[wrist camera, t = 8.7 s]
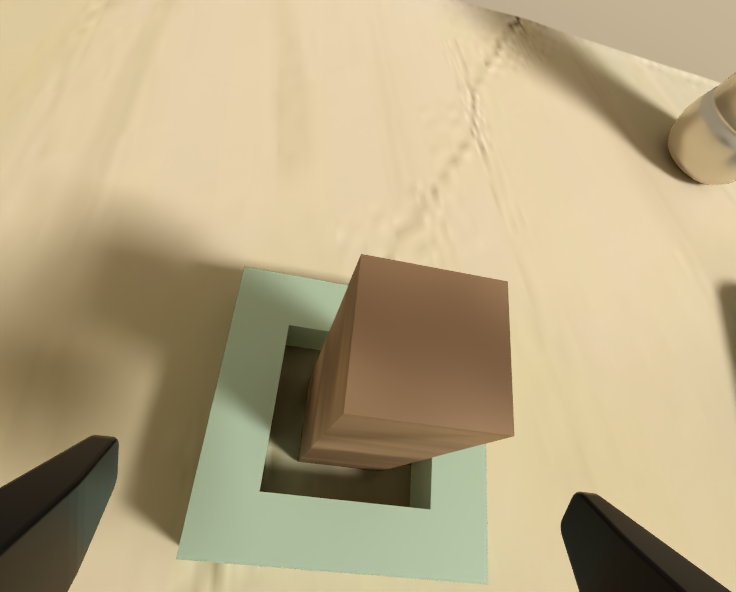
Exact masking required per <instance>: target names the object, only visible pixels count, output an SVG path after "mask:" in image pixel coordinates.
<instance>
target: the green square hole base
mask: <svg viewBox="0 0 736 592" xmlns="http://www.w3.org/2000/svg"><path fill="white" fill-rule="evenodd" d="M347 287H348V285H344V284H338V283H333V282H327V281H322V280H316V279H310V278H305V277H299V276H294V275H288V274H282V273H277V272H271V271H266V270H260V269H254V268H249V267H244V270H243V275H242V279H241V283H240V288H239V292H238V296H237V300H236V305H235V309H234V313H233V317H232V322H231V326H230V330H229V335H228V339H227V343H226V347H225V352H224V356H223V360H222V364H221V369H220V373H219V377H218V382H217V386H216V390H215V394H214V399H213V403H212V407H211V411H210V416H209V420H208V424H207V429H206V433H205V437H204V441H203V446H202V450H201V454H200V458H199V463H198V467H197V471H196V476H195V480H194V484H193V488H192V493H191V497H190V501H189V505H188V510H187V514H186V518H185V523H184V527H183V531H182V535H181V540H180V544H179V548H178V552H177V557H176V559H179V560H192V561H204V562H216V563H228V564H241V565H253V566H265V567H278V568H290V569H302V570H314V571H327V572H339V573H351V574H363V575H376V576H388V577H400V578H413V579H425V580H437V581H449V582H462V583H474V584H486V585H488V545H487V478H486V444H482V445H478V446H474V447H470V448H467V449H463V450H459V451H455V452H451V453H448V454H444V455H440V456H436V457H432V458H428V459H425V460H421V461H417V462H413V463H412V467H411V487H410V507H402V506H392V505H383V504H373V503H364V502H354V501H345V500H336V499H326V498H317V497H307V496H298V495H288V494H279V493H269V492H260V486H261V481H262V475H263V469H264V464H265V458H266V452H267V447H268V441H269V435H270V430H271V424H272V418H273V413H274V407H275V401H276V396H277V390H278V385H279V379H280V373H281V368H282V362H283V356H284V351H285V345H289V346H295V347H302V348H308V349H315V350H322V348H323V345H324V343H325V340H326V338H327V336H328V333H329V331H330V328H331V326H332V324H333V321H334V319H335V316H336V314H337V311H338V309H339V307H340V304H341V302H342V299H343V297H344V295H345V292H346V290H347Z"/></svg>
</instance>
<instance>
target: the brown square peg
mask: <svg viewBox="0 0 736 592" xmlns="http://www.w3.org/2000/svg"><path fill="white" fill-rule="evenodd" d="M512 436H514V418H513V395H512V372H511V348H510V325H509V302H508V282H507V281H502V280H497V279H491V278H486V277H481V276H475V275H470V274H465V273H459V272H454V271H449V270H443V269H438V268H433V267H427V266H422V265H417V264H411V263H406V262H401V261H395V260H390V259H385V258H379V257H374V256H369V255H363V254H361V256H360V258H359V261H358V263H357V266H356V268H355V270H354V273H353V275H352V278H351V280H350V283H349V285H348V287H347V290H346V292H345V295H344V297H343V299H342V302H341V304H340V307H339V309H338V311H337V314H336V316H335V319H334V321H333V324H332V326H331V328H330V331H329V333H328V336H327V338H326V340H325V343H324V345H323V348H322V350H321V352H320V355H319V357H318V360H317V362H316V365H315V367H314V369H313V372H312V374H311V377H310V381H309V388H308V395H307V402H306V409H305V415H304V422H303V429H302V436H301V443H300V450H299V457H298V462H306V463H315V464H324V465H333V466H341V467H350V468H359V469H368V470H376V471H383V470H387V469H390V468H394V467H398V466H402V465H406V464H409V463H413V462H417V461H421V460H425V459H428V458H432V457H436V456H440V455H444V454H448V453H451V452H455V451H459V450H463V449H467V448H470V447H474V446H478V445H482V444H486V443H489V442H493V441H497V440H501V439H505V438H508V437H512Z"/></svg>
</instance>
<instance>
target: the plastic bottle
mask: <svg viewBox="0 0 736 592" xmlns="http://www.w3.org/2000/svg"><path fill="white" fill-rule="evenodd" d="M668 149H669V152H670V155H671V157H672V158H673V160H674V162H675V163H676V164H677V166H678V167H679V168H680V169H681V170H682V171H683V172H684V173H686V174H687V175H688V176H689V177H691V178H693V179H694V180H696V181H698V182H700V183H704V184H707V185H719V184H729V183H732V182H734V181H736V72H735V73H734V74H733V75H731V76H730V77H729V78H728V79H726V80H725V81H724V82H723V83H721V84H720V85H719V86H717V87H715V88H714V89H712V90H711V91H709V92H707V93H706V94H704V95H703V96H701V97H700V98H699V99H697V100H696V101H695V102H693V103H692V104H691V105H689V106H688V107H687V108H686V109H685V110H684V111H683V113H682V114H681V115H680V116H679V118H678V119H677V120H676V121H675V123H674V124H673V125H672V127H671V130H670V134H669V138H668Z"/></svg>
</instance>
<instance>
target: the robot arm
mask: <svg viewBox="0 0 736 592" xmlns="http://www.w3.org/2000/svg"><path fill="white" fill-rule="evenodd" d="M118 450H119V443H118V440H117V439H116V438H115V437H109V436H101V435H93V436H90V437H88V438H86V439H85V440H83V441H81V442H79V443H78V444H76V445H74V446H72V447H71V448H69V449H67V450H65V451H64V452H62V453H60V454H58V455H57V456H55V457H53V458H51V459H50V460H48V461H46V462H44V463H43V464H41V465H39V466H37V467H36V468H34V469H32V470H30V471H29V472H27V473H25V474H23V475H22V476H20V477H18V478H16V479H15V480H13V481H11V482H9V483H8V484H6V485H4V486H2V487H1V488H0V592H68V590H69V588H70V586H71V584H72V582H73V580H74V578H75V576H76V575H77V573H78V570H79V568H80V566H81V564H82V561H83V559H84V557H85V554H86V552H87V550H88V547H89V545H90V543H91V540H92V538H93V536H94V533H95V531H96V529H97V526H98V524H99V522H100V519H101V517H102V515H103V512H104V510H105V508H106V505H107V503H108V501H109V498H110V496H111V494H112V491H113V489H114V486H115V483H116V479H117V473H118ZM561 534H562V537H563V540H564V544H565V547H566V550H567V553H568V556H569V560H570V563H571V566H572V569H573V573H574V576H575V579H576V582H577V585H578V589H579V592H731V591H729V590H728V589H727V588H725V587H724V586H723V585H721V584H720V583H719V582H717V581H716V580H714V579H713V578H712V577H710V576H709V575H708V574H706V573H705V572H703V571H702V570H701V569H699V568H698V567H697V566H695V565H694V564H692V563H691V562H690V561H688V560H687V559H686V558H684V557H683V556H681V555H680V554H679V553H677V552H676V551H675V550H673V549H672V548H670V547H669V546H668V545H666V544H665V543H664V542H662V541H661V540H659V539H658V538H657V537H655V536H654V535H653V534H651V533H650V532H648V531H647V530H646V529H644V528H643V527H642V526H640V525H639V524H637V523H636V522H635V521H633V520H632V519H631V518H629V517H628V516H626V515H625V514H624V513H622V512H621V511H620V510H618V509H617V508H615V507H614V506H613V505H611V504H610V503H609V502H607V501H606V500H605V499H603V498H602V497H600V496H599V495H597V494H594V493H587V492H577V493H575V494H574V495H573V497H572V499H571V501H570V503H569V505H568V508H567V510H566V512H565V514H564V516H563V518H562V521H561Z"/></svg>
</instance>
